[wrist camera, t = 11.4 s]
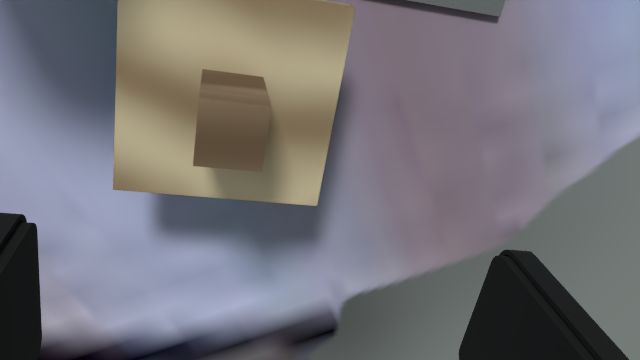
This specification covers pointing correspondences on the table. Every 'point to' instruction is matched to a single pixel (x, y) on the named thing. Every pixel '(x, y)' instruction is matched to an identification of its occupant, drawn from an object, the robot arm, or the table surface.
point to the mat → (470, 5)
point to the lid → (227, 96)
